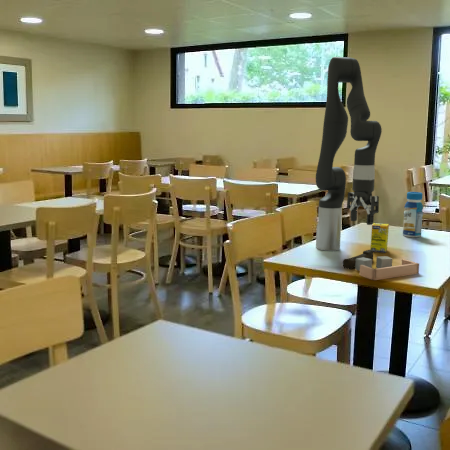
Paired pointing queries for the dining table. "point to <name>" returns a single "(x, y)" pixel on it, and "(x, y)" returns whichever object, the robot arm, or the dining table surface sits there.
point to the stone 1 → (363, 263)
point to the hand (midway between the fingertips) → (361, 222)
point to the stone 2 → (383, 262)
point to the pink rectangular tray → (390, 270)
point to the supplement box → (379, 237)
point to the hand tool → (351, 261)
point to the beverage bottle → (413, 215)
